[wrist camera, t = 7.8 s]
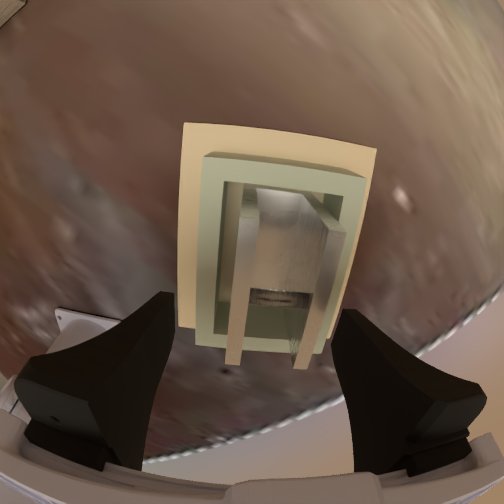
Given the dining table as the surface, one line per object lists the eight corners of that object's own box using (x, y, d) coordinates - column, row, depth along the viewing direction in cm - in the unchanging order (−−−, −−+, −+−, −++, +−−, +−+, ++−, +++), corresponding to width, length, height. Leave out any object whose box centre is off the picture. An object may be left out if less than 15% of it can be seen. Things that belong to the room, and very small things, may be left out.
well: (327, 331, 25) (340, 370, 21) (180, 319, 25) (168, 358, 20) (371, 147, 19) (403, 155, 14) (187, 122, 18) (167, 121, 14)
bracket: (290, 294, 22) (306, 369, 15) (232, 288, 22) (224, 363, 15) (310, 191, 19) (346, 231, 12) (244, 183, 19) (239, 218, 12)
